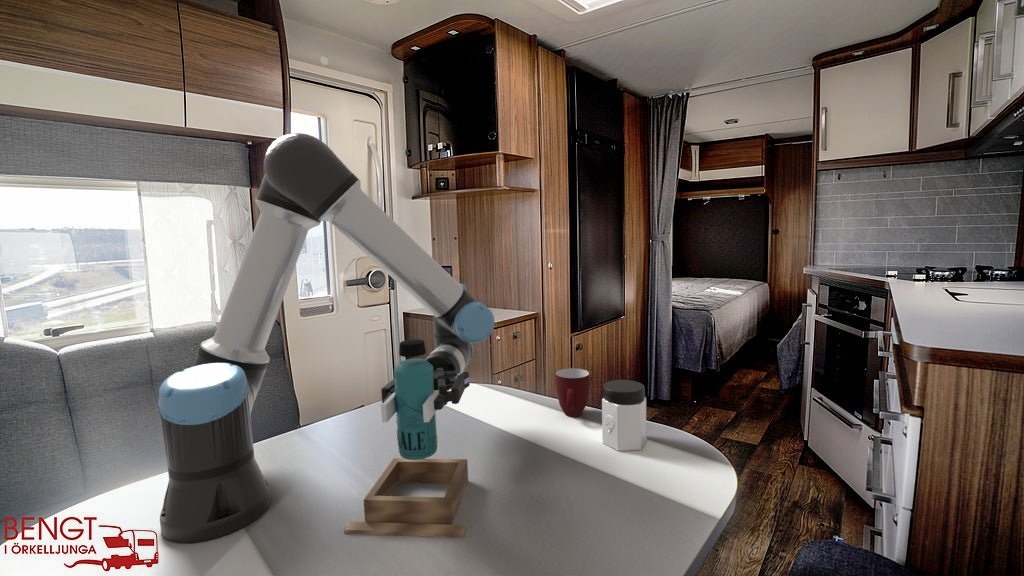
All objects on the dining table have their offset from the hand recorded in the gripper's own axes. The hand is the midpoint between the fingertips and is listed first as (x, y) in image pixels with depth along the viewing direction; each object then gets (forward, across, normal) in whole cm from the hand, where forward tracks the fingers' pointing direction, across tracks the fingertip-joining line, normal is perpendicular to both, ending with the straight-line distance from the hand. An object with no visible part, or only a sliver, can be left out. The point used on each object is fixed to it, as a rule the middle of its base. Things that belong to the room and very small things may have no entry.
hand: (404, 413), depth 72 cm
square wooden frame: (-4, 0, -17) cm, 18 cm away
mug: (-42, -26, -18) cm, 52 cm away
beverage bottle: (-5, 0, -10) cm, 11 cm away
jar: (-28, -36, -18) cm, 49 cm away
